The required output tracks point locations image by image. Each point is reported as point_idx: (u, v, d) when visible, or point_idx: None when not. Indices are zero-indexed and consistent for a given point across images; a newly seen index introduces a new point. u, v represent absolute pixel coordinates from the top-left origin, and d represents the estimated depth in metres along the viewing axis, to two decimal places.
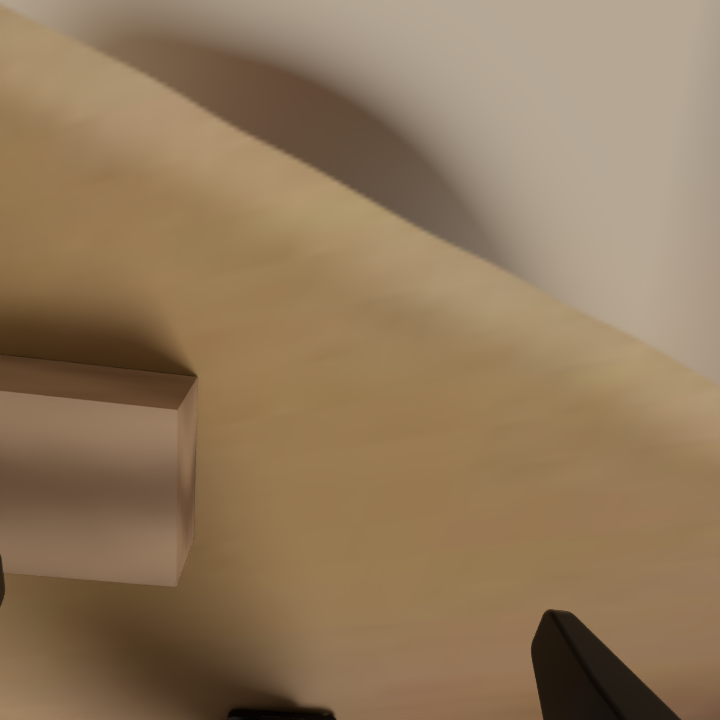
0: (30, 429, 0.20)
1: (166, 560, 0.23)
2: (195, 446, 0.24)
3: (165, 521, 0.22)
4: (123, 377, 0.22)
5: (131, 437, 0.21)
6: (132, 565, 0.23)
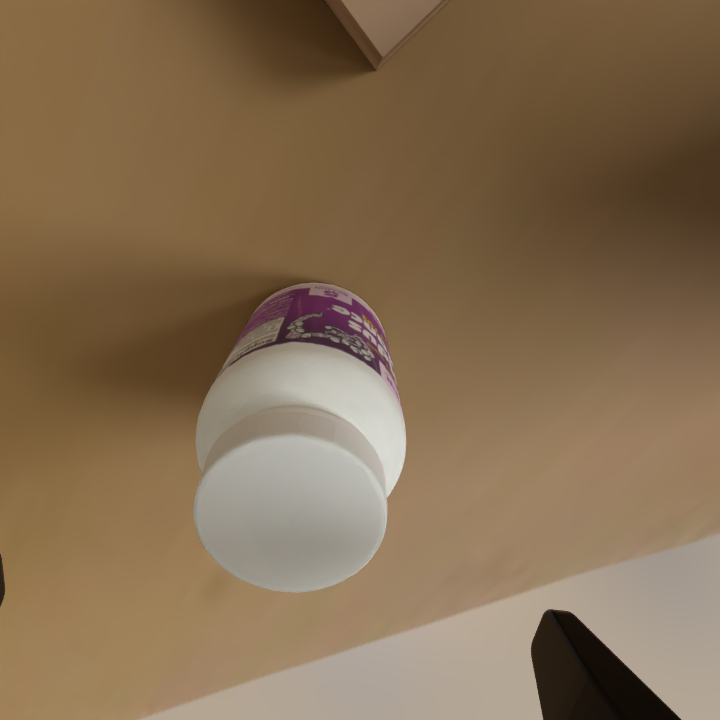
0: None
1: None
2: None
3: None
4: None
5: None
6: None
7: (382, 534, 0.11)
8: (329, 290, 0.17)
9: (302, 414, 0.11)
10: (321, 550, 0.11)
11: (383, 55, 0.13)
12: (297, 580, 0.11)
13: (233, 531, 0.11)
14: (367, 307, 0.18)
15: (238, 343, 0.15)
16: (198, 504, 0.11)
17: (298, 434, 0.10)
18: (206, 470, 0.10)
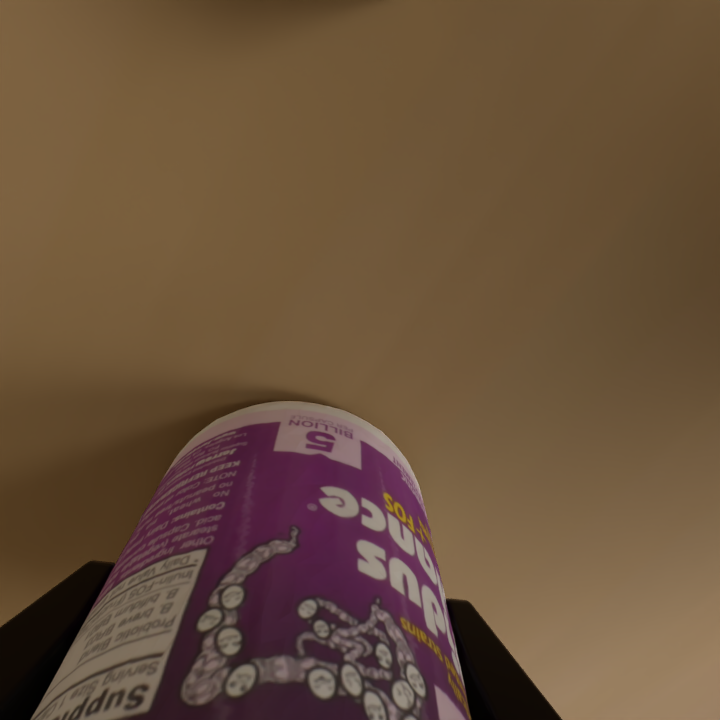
0: None
1: None
2: None
3: None
4: None
5: None
6: None
7: None
8: (317, 428, 0.09)
9: None
10: None
11: None
12: None
13: None
14: (389, 451, 0.10)
15: (100, 605, 0.06)
16: None
17: None
18: None
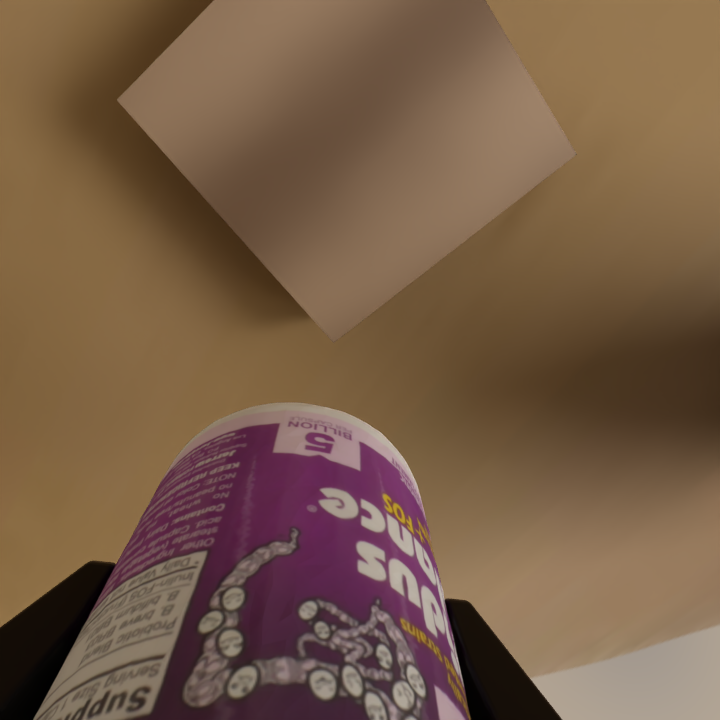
0: (251, 57, 0.14)
1: (536, 119, 0.15)
2: None
3: (493, 51, 0.14)
4: None
5: None
6: (501, 167, 0.15)
7: None
8: (316, 430, 0.09)
9: None
10: None
11: (334, 341, 0.17)
12: None
13: None
14: (388, 452, 0.10)
15: (100, 607, 0.06)
16: None
17: None
18: None
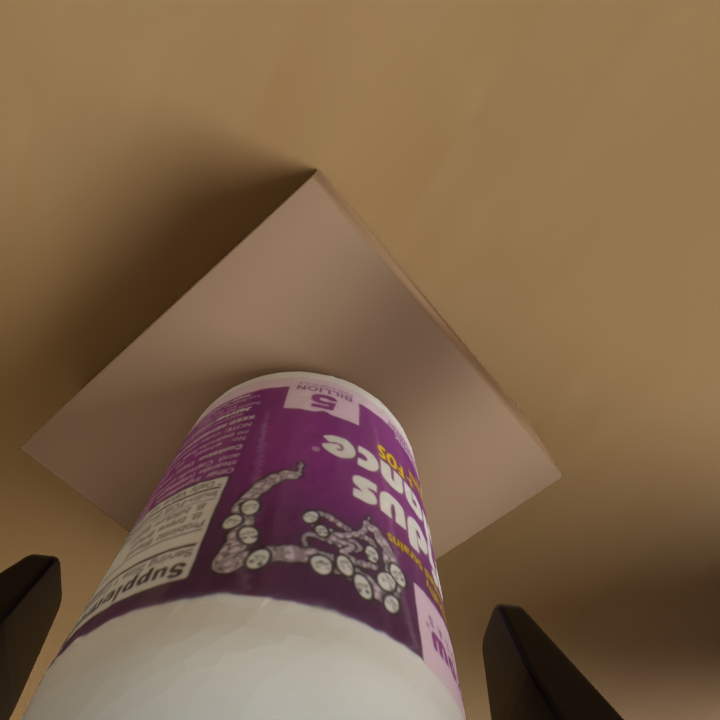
0: (173, 403, 0.12)
1: (514, 446, 0.12)
2: None
3: (460, 386, 0.12)
4: None
5: (296, 292, 0.11)
6: (475, 492, 0.13)
7: None
8: (321, 392, 0.10)
9: None
10: None
11: None
12: None
13: None
14: (385, 415, 0.11)
15: (140, 523, 0.08)
16: None
17: None
18: None
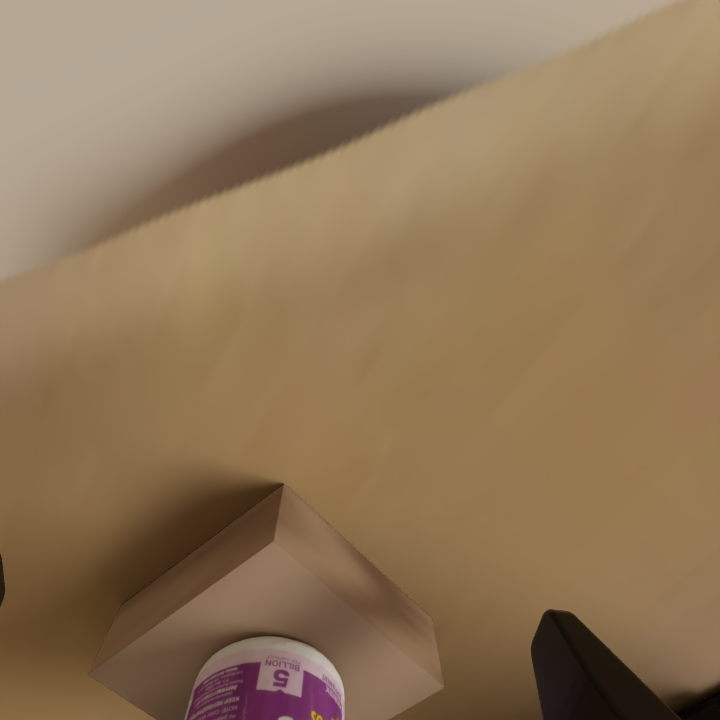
0: (187, 650, 0.18)
1: (410, 671, 0.19)
2: (345, 542, 0.20)
3: (371, 640, 0.18)
4: (224, 539, 0.19)
5: (265, 594, 0.17)
6: (386, 696, 0.20)
7: None
8: (280, 667, 0.17)
9: None
10: None
11: None
12: None
13: None
14: (321, 670, 0.18)
15: None
16: None
17: None
18: None
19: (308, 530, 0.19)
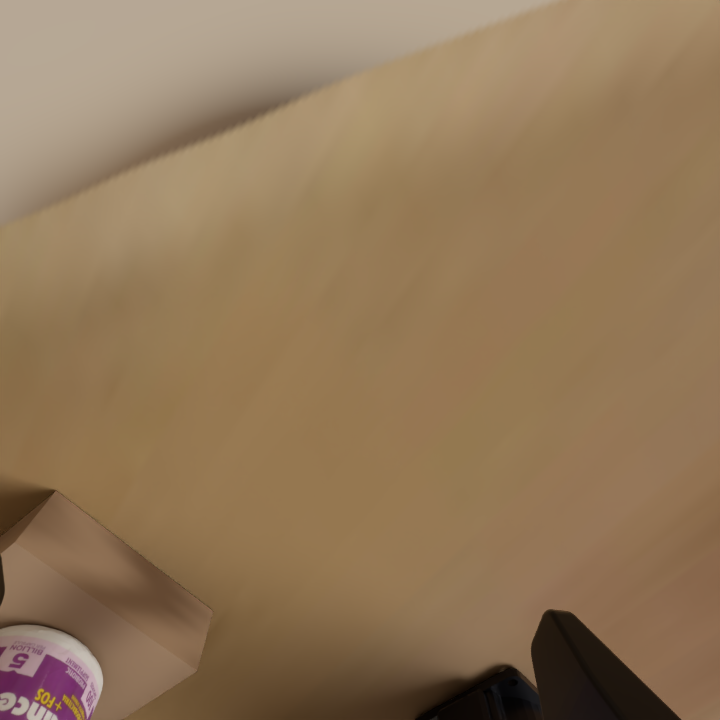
0: None
1: (163, 656, 0.22)
2: (120, 542, 0.23)
3: (122, 629, 0.21)
4: (1, 539, 0.22)
5: (17, 588, 0.20)
6: (147, 678, 0.22)
7: None
8: (22, 651, 0.19)
9: None
10: None
11: None
12: None
13: None
14: (67, 654, 0.20)
15: None
16: None
17: None
18: None
19: (70, 532, 0.21)
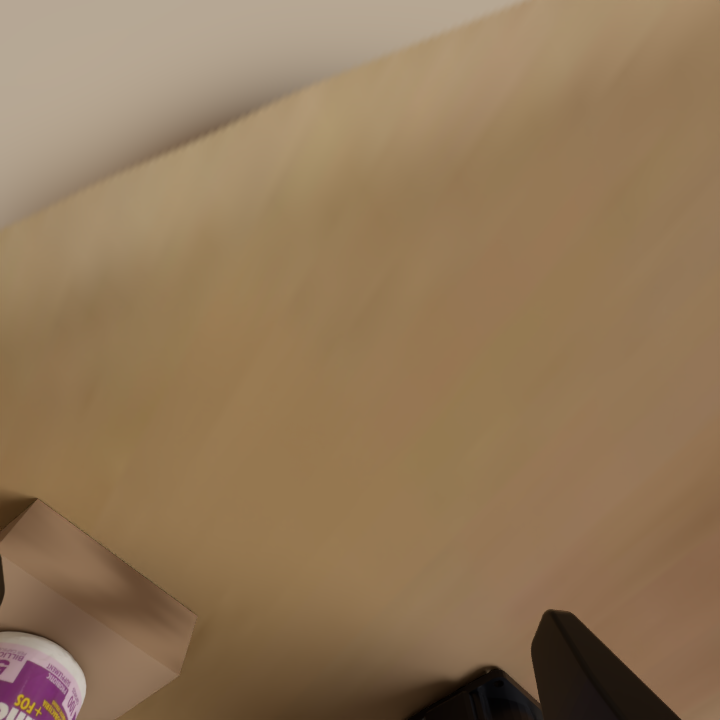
0: None
1: (145, 661, 0.22)
2: (102, 549, 0.23)
3: (103, 634, 0.21)
4: None
5: None
6: (130, 683, 0.22)
7: None
8: (3, 657, 0.20)
9: None
10: None
11: None
12: None
13: None
14: (48, 660, 0.20)
15: None
16: None
17: None
18: None
19: (51, 539, 0.22)
